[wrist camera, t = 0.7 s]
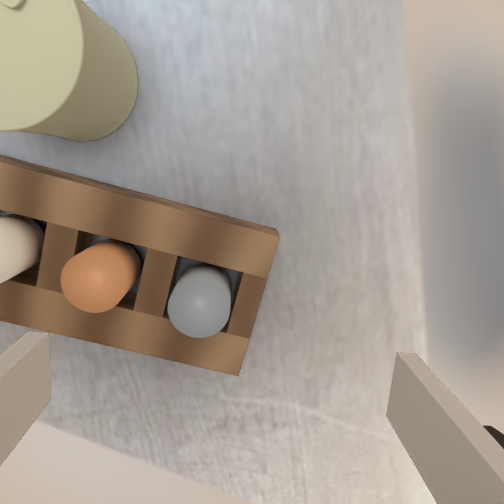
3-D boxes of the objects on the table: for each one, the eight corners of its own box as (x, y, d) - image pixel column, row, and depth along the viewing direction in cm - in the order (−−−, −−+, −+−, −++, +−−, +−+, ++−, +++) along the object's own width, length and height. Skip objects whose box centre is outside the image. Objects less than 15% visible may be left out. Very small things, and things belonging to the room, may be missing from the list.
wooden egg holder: (-36, 290, 35) (-65, 305, 32) (-17, 150, 32) (-47, 149, 29) (238, 356, 37) (238, 376, 34) (275, 229, 35) (279, 236, 31)
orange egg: (80, 284, 33) (55, 304, 29) (90, 232, 32) (66, 244, 28) (134, 297, 34) (118, 319, 29) (145, 246, 33) (131, 260, 28)
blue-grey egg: (171, 307, 34) (161, 329, 29) (184, 256, 33) (175, 272, 28) (223, 319, 34) (221, 344, 30) (237, 270, 33) (237, 287, 29)
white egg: (-15, 261, 32) (-56, 277, 28) (-8, 207, 32) (-48, 215, 27) (41, 275, 33) (10, 293, 28) (50, 222, 32) (19, 232, 27)
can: (160, 57, 31) (113, -3, 20) (105, 163, 33) (32, 166, 21) (47, -14, 30) (-73, -123, 18) (-4, 100, 32) (-145, 66, 20)
